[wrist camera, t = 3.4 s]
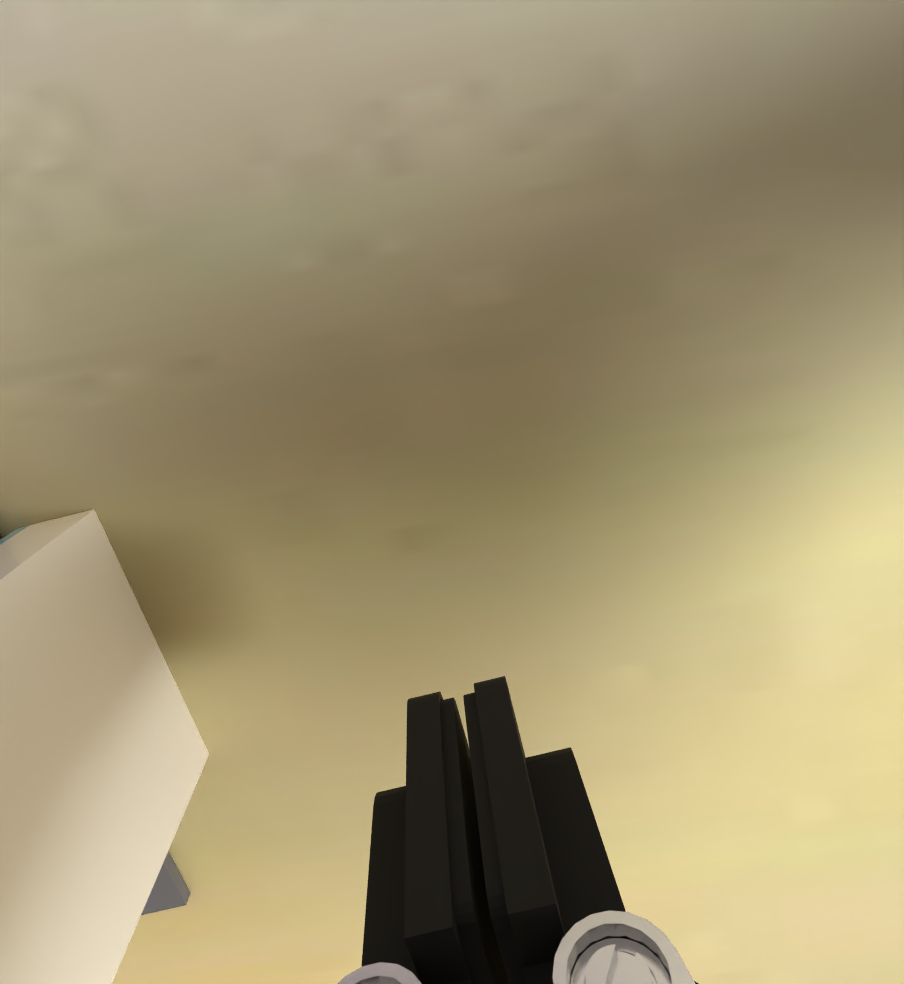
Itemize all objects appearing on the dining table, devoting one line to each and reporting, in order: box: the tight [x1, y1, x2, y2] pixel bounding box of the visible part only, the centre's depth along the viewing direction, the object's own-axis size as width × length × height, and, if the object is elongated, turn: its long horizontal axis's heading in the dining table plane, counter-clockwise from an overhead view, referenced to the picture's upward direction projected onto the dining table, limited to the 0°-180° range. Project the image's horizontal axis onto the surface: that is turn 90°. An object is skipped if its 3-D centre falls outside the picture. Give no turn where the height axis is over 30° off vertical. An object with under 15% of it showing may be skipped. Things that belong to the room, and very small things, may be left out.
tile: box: [0, 509, 209, 984], centre depth 13 cm, size 2×8×10 cm, turn 14°
